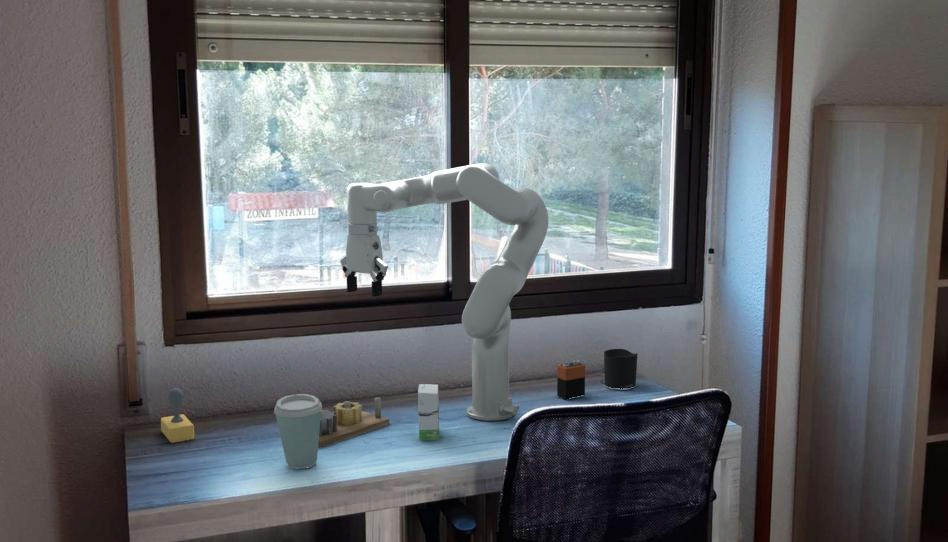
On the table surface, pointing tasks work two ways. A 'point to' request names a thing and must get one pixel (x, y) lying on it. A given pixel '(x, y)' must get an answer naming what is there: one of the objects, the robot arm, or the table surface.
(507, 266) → the robot arm
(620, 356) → the pen holder
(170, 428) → the rubber stamp
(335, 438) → the gear board
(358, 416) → the brass gear
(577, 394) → the battery
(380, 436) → the table surface
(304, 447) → the disposable coffee cup
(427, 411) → the ink box
